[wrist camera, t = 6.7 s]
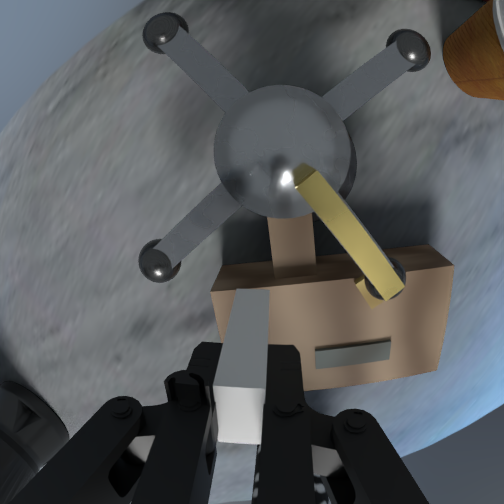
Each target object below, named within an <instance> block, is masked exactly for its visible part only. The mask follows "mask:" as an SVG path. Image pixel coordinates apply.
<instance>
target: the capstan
mask: <svg viewBox="0 0 504 504" xmlns="http://www.w3.org/2000/svg"><path fill="white" fill-rule="evenodd" d="M142 36H143V41H144V43H145V45H146V47H147V48H148V49H150V50H151V51H153V52H155V53H158V54H167V55H168V56H169V57H170V58H171V59H172V60H173V61H174V62H175V63H176V64H177V65H178V66H179V67H180V68H181V69H182V70H183V71H184V72H185V73H186V74H187V75H188V76H189V77H191V78H192V79H193V80H194V81H195V82H196V83H197V84H198V85H199V86H200V87H201V88H202V89H203V90H204V91H205V92H206V93H207V94H208V95H209V96H210V97H211V98H212V99H213V100H214V102H215V103H216V104H217V105H218V106H219V107H220V108H221V109H222V110H223V111H224V112H225V115H224V117H223V118H222V120H221V122H220V124H219V127H218V129H217V132H216V136H215V141H214V160H215V166H216V169H217V173H218V175H219V178H220V180H221V182H222V183H220V184H219V185H218V186H217V187H216V188H215V189H214V190H213V191H212V192H211V193H210V194H209V195H208V196H206V197H205V198H204V199H203V200H202V201H201V202H200V203H199V204H198V205H197V206H196V207H195V208H194V209H193V210H192V211H191V212H190V213H188V214H187V215H186V216H185V217H184V218H183V219H182V220H181V221H180V222H179V223H178V224H177V225H176V226H175V227H174V228H173V229H172V230H171V231H170V232H169V233H168V234H167V235H166V236H165V237H164V238H163V239H156V240H152V241H150V242H148V243H147V244H146V245H145V246H144V247H143V248H142V250H141V252H140V254H139V259H138V262H139V268H140V270H141V272H142V274H143V275H144V276H145V277H146V278H147V279H149V280H151V281H153V282H157V283H163V282H167V281H169V280H171V279H173V278H174V277H175V276H176V275H177V273H178V272H179V270H180V267H181V260H182V259H183V258H185V257H186V256H187V255H188V254H189V253H190V252H191V251H192V250H193V249H194V248H196V247H197V246H198V245H199V244H200V243H201V242H202V241H203V240H204V239H205V238H207V237H208V236H209V235H210V234H211V233H212V232H213V231H214V230H216V229H217V228H218V227H219V226H220V225H221V224H222V223H223V222H224V221H226V220H227V219H228V218H229V217H230V216H231V215H232V214H234V213H235V212H236V211H237V210H238V209H239V208H240V207H241V206H244V207H245V208H247V209H249V210H250V211H252V212H254V213H257V214H259V215H262V216H265V217H270V218H277V219H288V218H296V217H300V216H304V215H307V214H309V213H312V221H313V222H315V221H317V220H320V219H321V220H322V222H323V223H324V224H325V225H326V227H327V228H328V229H329V230H330V231H331V233H332V234H333V235H334V236H335V238H336V239H337V240H338V241H339V243H340V244H341V245H342V246H343V248H344V249H345V250H346V251H347V253H348V254H349V255H350V256H351V258H352V259H353V260H354V261H355V263H356V264H357V265H358V267H359V268H360V269H361V270H362V272H363V273H364V274H365V275H364V282H365V286H366V289H367V291H368V292H369V293H370V294H371V295H372V296H373V297H375V298H377V299H379V300H385V301H387V300H391V299H393V298H395V297H397V296H398V295H399V294H400V293H401V292H402V291H403V289H404V287H405V284H406V272H405V269H404V267H403V266H402V264H401V263H400V262H399V261H398V260H396V259H394V258H392V257H387V256H386V255H385V253H384V252H383V251H382V249H381V248H380V246H379V245H378V244H377V242H376V241H375V240H374V238H373V237H372V236H371V234H370V233H369V231H368V230H367V229H366V227H365V226H364V225H363V223H362V222H361V221H360V220H359V218H358V217H357V216H356V214H355V213H354V212H353V210H352V209H351V208H350V207H349V205H348V204H347V203H346V201H345V199H346V198H347V196H348V194H349V193H350V191H351V188H352V186H353V183H354V180H355V176H356V169H357V160H356V152H355V148H354V145H353V142H352V140H351V137H350V136H349V134H348V132H347V130H346V127H345V125H344V123H343V121H344V120H345V119H346V118H347V117H349V116H350V115H351V114H352V113H354V112H355V111H356V110H357V109H359V108H360V107H361V106H362V105H364V104H365V103H366V102H367V101H369V100H370V99H371V98H372V97H374V96H375V95H376V94H378V93H379V92H380V91H381V90H383V89H384V88H385V87H386V86H388V85H389V84H390V83H392V82H393V81H394V80H396V79H397V78H398V77H399V76H401V75H402V74H403V73H405V72H406V71H408V72H416V71H419V70H422V69H423V68H425V67H426V66H427V64H428V63H429V60H430V57H431V50H430V47H429V44H428V42H427V41H426V39H425V38H424V37H423V36H422V35H421V34H419V33H418V32H416V31H414V30H410V29H400V30H397V31H395V32H393V33H392V34H391V35H390V36H389V38H388V40H387V43H386V48H385V49H384V50H383V51H381V52H380V53H379V54H377V55H376V56H374V57H373V58H372V59H370V60H369V61H368V62H366V63H365V64H364V65H362V66H361V67H360V68H358V69H357V70H356V71H354V72H353V73H352V74H350V75H349V76H348V77H346V78H345V79H344V80H343V81H341V82H340V83H339V84H337V85H336V86H335V87H333V88H332V89H331V90H330V91H328V92H327V93H326V94H325V95H323V96H322V97H320V96H318V95H317V94H315V93H313V92H311V91H309V90H306V89H304V88H300V87H297V86H291V85H272V86H266V87H262V88H259V89H256V90H254V91H251V92H249V91H248V90H247V89H246V88H245V87H244V86H243V85H242V84H241V83H240V82H239V81H238V80H237V79H236V78H235V77H234V76H233V75H232V74H231V73H230V72H229V71H228V70H227V69H226V68H225V67H224V66H223V65H222V64H221V63H220V62H219V61H218V60H217V59H215V58H214V57H213V56H212V55H211V54H210V53H209V52H208V51H207V50H206V49H205V48H204V47H203V46H202V45H200V44H199V43H198V42H197V41H196V40H195V39H194V38H193V37H192V36H190V35H189V29H188V25H187V23H186V21H185V20H184V19H183V18H182V17H181V16H180V15H178V14H175V13H171V12H165V13H160V14H157V15H155V16H154V17H152V18H151V19H150V20H149V21H148V22H147V23H146V25H145V27H144V29H143V35H142Z"/></svg>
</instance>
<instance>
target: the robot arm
mask: <svg viewBox="0 0 504 504" xmlns="http://www.w3.org/2000/svg"><path fill="white" fill-rule="evenodd" d="M269 295H270V290H265V289H237V290H236V294H235V298H234V302H233V306H232V310H231V314H230V318H229V322H228V326H227V330H226V334H225V338H224V342H223V343H213V342H201V343H200V344H199V345H198V346H197V347H196V348H195V349H194V351H193V353H192V356H191V359H190V362H189V364H188V367H187V370H181V371H177V372H174V373H172V374H171V375H169V376H168V377H167V378H166V379H165V381H164V384H165V389H166V394H167V398H168V402H167V403H164V404H161V405H155V406H143V407H142V405H141V404H140V402H139V401H138V400H136V399H134V398H133V397H128V396H118V397H115V398H112V399H110V400H109V401H107V402H106V403H105V404H104V405H103V406H102V407H101V408H100V409H99V410H98V411H97V412H96V413H95V414H94V415H93V416H92V417H91V418H90V419H89V420H88V421H87V422H86V423H85V424H84V425H83V427H82V428H81V429H80V430H79V431H78V432H77V433H76V434H75V435H74V436H73V437H72V438H71V439H70V440H69V435H68V432H67V430H66V428H65V426H64V425H63V423H62V422H61V421H60V419H59V418H58V417H57V416H56V414H55V413H54V412H53V411H52V410H51V409H50V408H49V407H48V406H47V405H46V404H45V403H44V402H43V401H42V400H40V399H39V398H38V397H37V396H36V395H34V394H33V393H32V392H30V391H29V390H27V389H26V388H24V387H22V386H21V385H18V384H16V383H14V382H9V381H6V382H3V383H2V384H1V385H0V504H130V502H131V504H208V500H209V495H210V489H211V484H212V478H213V473H214V467H215V462H216V456H217V451H216V442H217V437H218V441H219V442H228V443H242V444H261V452H260V467H259V481H258V495H257V504H316V503H315V487H314V474H318V475H320V477H321V479H322V482H323V484H324V487H325V489H326V492H327V494H328V496H329V499H330V501H331V504H429V502H428V501H427V500H426V498H425V496H424V494H423V493H422V491H421V490H420V488H419V487H418V485H417V483H416V482H415V480H414V479H413V477H412V475H411V474H410V472H409V471H408V469H407V468H406V466H405V464H404V463H403V461H402V460H401V458H400V456H399V455H398V453H397V452H396V450H395V449H394V447H393V445H392V444H391V442H390V441H389V439H388V438H387V436H386V434H385V433H384V431H383V430H382V428H381V427H380V425H379V423H378V422H377V420H376V419H375V418H374V417H373V416H372V415H371V414H370V413H368V412H366V411H364V410H360V409H347V410H344V411H342V412H340V413H339V414H338V415H337V416H336V417H333V416H328V415H324V414H321V413H318V412H316V411H314V410H312V409H311V408H310V407H309V406H308V405H307V403H306V402H305V398H304V388H303V378H302V367H301V357H300V352H299V351H298V349H297V348H296V347H295V346H294V345H281V344H268V326H269ZM46 463H47V464H46ZM45 464H46V465H45ZM44 465H45V466H44ZM42 466H44V467H43V468H42V469H41V470H40V471H39V469H40V468H41V467H42ZM38 471H39V472H38Z"/></svg>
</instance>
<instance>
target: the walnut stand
mask: <svg viewBox="0 0 504 504" xmlns="http://www.w3.org/2000/svg"><path fill="white" fill-rule="evenodd" d="M267 220H268V227H269V235H270V243H271V252H272V260H273V261H264V262H253V263H243V264H233V265H222V267H221V269H220V271H219V274H218V276H217V278H216V280H215V283H214V285H213V287H212V289H211V291H210V292H211V297H212V302H213V307H214V312H215V316H216V321H217V325H218V330H219V335H220V339H221V343H223V342H224V338H225V334H226V330H227V326H228V322H229V318H230V314H231V310H232V306H233V302H234V298H235V294H236V290H237V289H265V290H270V295H269V326H268V344H281V345H294V346H295V347H296V348H297V349H298V351H299V352H300V357H301V367H302V378H303V388H304V391H311V390H321V389H330V388H338V387H346V386H354V385H361V384H367V383H374V382H380V381H386V380H392V379H397V378H402V377H408V376H413V375H418V374H422V373H427V372H431V371H436V370H437V368H438V363H439V359H440V355H441V350H442V345H443V340H444V335H445V329H446V324H447V318H448V312H449V305H450V298H451V290H452V282H453V273H454V265H453V264H452V263H451V262H450V261H449V260H447V259H446V258H445V257H444V256H442V255H441V254H440V253H439V252H438V251H436V250H435V249H434V248H433V247H431V246H430V245H429V244H426V245H417V246H408V247H399V248H390V249H382V251H383V252H384V253H385V255H386V256H387V257H392V258H394V259H396V260H398V261H399V262H400V263H401V264H402V266H403V267H404V269H405V272H406V284H405V287H404V289H403V291H402V292H401V293H400V294H399V295H398V296H397V297H395V298H393V299H391V300H387V301H385V300H379V299H377V298H375V297H373V296H372V295H371V294H370V293H369V292H368V291H367V289H366V286H365V282H364V275H365V274H364V273H363V272H362V270H361V269H360V268H359V267H358V265H357V264H356V263H355V261H354V260H353V259H352V258H351V256H350V255H349V254H348V253H343V254H333V255H323V256H315V245H314V233H313V221H312V213H309V214H307V215H304V216H300V217H296V218H288V219H277V218H270V217H267Z"/></svg>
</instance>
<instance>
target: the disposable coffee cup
mask: <svg viewBox="0 0 504 504" xmlns="http://www.w3.org/2000/svg"><path fill="white" fill-rule="evenodd" d="M443 58H444V63H445V66H446V69H447V71H448V73H449V75H450V77H451V78H452V80H453V81H454V83H455V84H456V85H457V86H458V87H459V88H460V89H461V90H462V91H464V92H465V93H467V94H468V95H470V96H473V97H477V98H489V99H498V100H504V0H489V1H488V2H487V3H486V4H484V5H483V6H482V7H481V8H480V9H479V10H478V11H477V12H476V13H474V14H473V15H472V16H471V17H470V18H469V19H468V20H467V21H466V22H464V23H463V24H462V25H461V26H460V27H459V28H458V29H457V30H456V31H455V32H453V33H452V34H451V35H450V36H449V37H448V38H447V39H446V41H445V43H444V47H443Z"/></svg>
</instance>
